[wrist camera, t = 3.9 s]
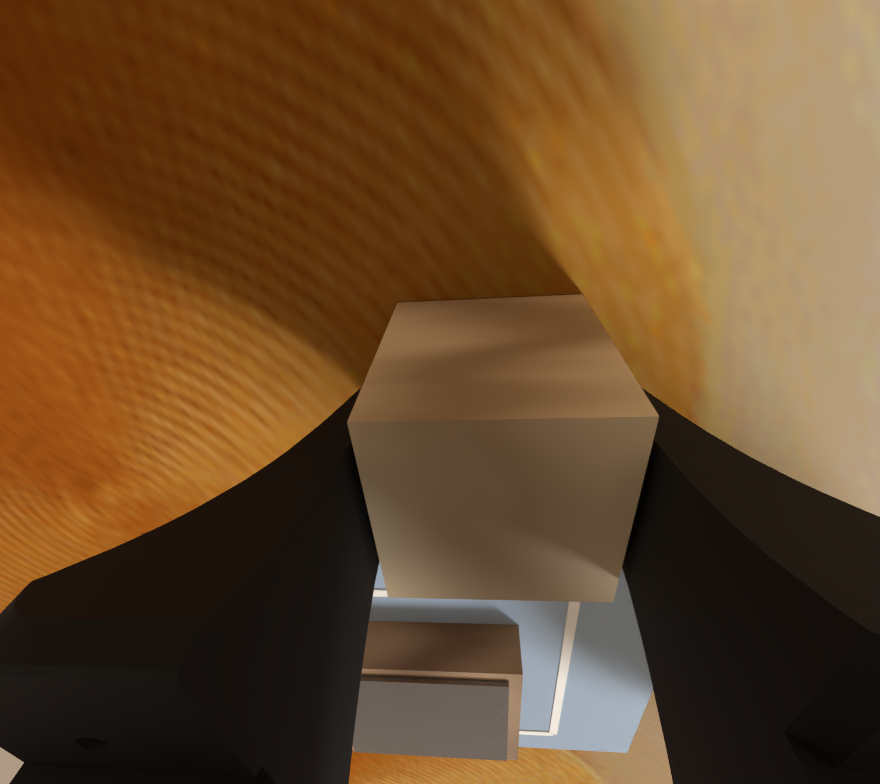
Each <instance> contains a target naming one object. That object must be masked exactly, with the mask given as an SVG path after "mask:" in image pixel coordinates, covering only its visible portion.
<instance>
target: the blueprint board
mask: <svg viewBox="0 0 880 784" xmlns="http://www.w3.org/2000/svg"><path fill="white" fill-rule="evenodd" d="M652 691H653V685H652V681H651V677H650V672H649V668H648V664H647V660H646V656H645V651H644V647H643V643H642V639H641V635H640V631H639V627H638V623H637V619H636V615H635V611H634V607H633V604H632V600H631V596H630V592H629V588H628V585H627V582H626V579H625V576H624V573H623V569H621V573H620V577H619V581H618V585H617V589H616V593H615V597H614V601H613V602H567V601H520V600H474V599H427V598H388V595H387V591H386V587H385V582H384V578H383V574H382V569H381V565H380V562H379V566H378V571H377V576H376V580H375V585H374V592H373V598H372V605H371V611H370V617H369V624H368V630H367V638H366V645H365V652H364V659H363V666H362V673H361V681H360V688H359V696H358V704H357V712H356V720H355V728H354V737H353V746H352V751H355V752H364V753H381V754H399V755H416V756H433V757H451V758H468V759H486V760H503V761H507V759H509V760H518V747H532V748H550V749H569V750H587V751H606V752H624V753H627V752H628V749H629V747H630V744H631V742H632V739H633V737H634V734H635V732H636V730H637V727H638V725H639V722H640V720H641V717H642V715H643V712H644V710H645V708H646V705H647V703H648V700H649V698H650V695H651V693H652Z"/></svg>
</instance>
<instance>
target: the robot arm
mask: <svg viewBox="0 0 880 784" xmlns="http://www.w3.org/2000/svg"><path fill="white" fill-rule="evenodd" d="M361 388H362V387H361ZM361 388H360V389H359V390H358V391H357V392H356V393H355V394H354V395H353V396H351V397H350V398H349V399H348V400H347V401H346V402H345V403H344V404H343V405H342V406H341V407H339V408H338V409H337V410H336V411H335V412H334V413H333V414H332V415H331V416H329V417H328V418H327V419H326V420H325V421H324V422H323V423H322V424H320V425H319V426H318V427H317V428H315V429H314V430H313V431H312V432H310V433H309V434H308V435H307V436H306V437H304V438H303V439H302V440H301V441H299V442H298V443H297V444H296V445H294V446H293V447H292V448H291V449H289V450H288V451H287V452H285V453H284V454H283V455H281V456H280V457H278V458H277V459H276V460H274V461H273V462H271V463H270V464H269V465H267V466H266V467H264V468H263V469H261V470H260V471H258V472H256V473H255V474H253V475H252V476H250V477H249V478H247V479H246V480H244V481H243V482H241V483H239V484H238V485H236V486H234V487H232V488H231V489H229V490H227V491H225V492H224V493H222V494H220V495H218V496H217V497H215V498H213V499H211V500H210V501H208V502H206V503H204V504H203V505H201V506H199V507H197V508H196V509H194V510H192V511H190V512H188V513H186V514H184V515H182V516H180V517H178V518H176V519H174V520H172V521H170V522H168V523H166V524H164V525H162V526H160V527H158V528H156V529H154V530H152V531H150V532H148V533H145V534H143V535H141V536H139V537H137V538H135V539H133V540H130V541H128V542H126V543H124V544H121V545H119V546H117V547H115V548H112V549H110V550H108V551H105V552H103V553H100V554H98V555H95V556H93V557H91V558H88V559H86V560H83V561H81V562H79V563H76V564H74V565H71V566H69V567H66V568H64V569H62V570H59V571H57V572H54V573H52V574H49V575H47V576H44V577H42V578H39V579H36V580H34V581H32V582H30V583H29V584H28V585H27V586H26V587H25V588H24V589H23V590H22V591H21V592H20V594H19V595H18V596H17V597H16V598H15V599H14V600H13V601H12V602H11V603H10V604H9V605H8V606H7V607H6V608H5V609H4V610H3V611H2V613H1V614H0V747H1V748H3V749H4V750H6V751H8V752H9V753H11V754H12V755H14V756H15V757H17V758H18V759H20V760H21V761H23V762H24V764H23V765H22V767H21V768H20V770H19V771H18V772H17V774H16V775H15V777H14V778H13V780H12V781H11V782H10V784H348V783H349V773H350V764H351V755H352V746H353V737H354V728H355V720H356V712H357V704H358V696H359V688H360V681H361V673H362V666H363V659H364V652H365V645H366V638H367V630H368V624H369V617H370V611H371V605H372V598H373V592H374V585H375V580H376V576H377V571H378V566H379V562H380V561H379V557H378V552H377V548H376V544H375V540H374V535H373V531H372V527H371V523H370V518H369V514H368V510H367V505H366V501H365V497H364V493H363V488H362V484H361V480H360V476H359V471H358V467H357V463H356V458H355V454H354V450H353V446H352V441H351V437H350V433H349V429H348V424H347V421H348V419H349V416H350V414H351V412H352V409H353V407H354V404H355V402H356V400H357V397H358V395H359V393H360V390H361ZM642 390H643V391H644V393H645V394H646V396H647V398H648V399H649V401H650V402H651V404H652V405H653V407H654V409H655V410H656V412H657V413H658V415H659V420H658V424H657V428H656V432H655V436H654V440H653V444H652V448H651V452H650V456H649V460H648V464H647V468H646V472H645V476H644V480H643V484H642V488H641V492H640V496H639V500H638V504H637V508H636V513H635V517H634V521H633V525H632V529H631V533H630V537H629V541H628V545H627V549H626V553H625V557H624V561H623V565H622V569H623V573H624V576H625V579H626V582H627V585H628V588H629V592H630V596H631V600H632V604H633V607H634V611H635V615H636V619H637V623H638V627H639V631H640V635H641V639H642V643H643V647H644V651H645V656H646V660H647V664H648V668H649V672H650V677H651V681H652V685H653V690H654V694H655V699H656V703H657V708H658V712H659V717H660V722H661V726H662V731H663V735H664V740H665V745H666V749H667V754H668V759H669V764H670V769H671V774H672V779H673V784H880V517H879V516H876V515H874V514H871V513H869V512H866V511H864V510H862V509H859V508H857V507H855V506H852V505H850V504H848V503H845V502H843V501H841V500H839V499H836V498H834V497H832V496H829V495H827V494H825V493H822V492H820V491H818V490H816V489H814V488H811V487H809V486H807V485H805V484H803V483H801V482H799V481H796V480H794V479H792V478H790V477H788V476H786V475H784V474H782V473H780V472H778V471H777V470H775V469H773V468H771V467H769V466H767V465H765V464H763V463H761V462H759V461H757V460H755V459H753V458H751V457H749V456H748V455H746V454H744V453H742V452H740V451H739V450H737V449H735V448H733V447H732V446H730V445H728V444H727V443H725V442H723V441H722V440H720V439H718V438H717V437H715V436H713V435H712V434H710V433H708V432H707V431H705V430H703V429H702V428H700V427H699V426H697V425H696V424H694V423H692V422H691V421H689V420H688V419H686V418H685V417H683V416H682V415H680V414H679V413H677V412H676V411H674V410H673V409H671V408H670V407H668V406H667V405H666V404H664V403H663V402H661V401H660V400H658V399H657V398H656V397H654V396H653V395H651V394H650V393H648V392H647V391H646V390H644V389H643V388H642Z"/></svg>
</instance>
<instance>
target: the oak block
mask: <svg viewBox="0 0 880 784" xmlns="http://www.w3.org/2000/svg"><path fill="white" fill-rule="evenodd" d="M658 420H659V415H658V413H657V412H656V410H655V409H654V407H653V405H652V404H651V402H650V401H649V399H648V398H647V396H646V394H645V393H644V391H643V390H642V388H641V386H640V385H639V383H638V382H637V380H636V378H635V377H634V375H633V374H632V372H631V370H630V369H629V367H628V366H627V364H626V362H625V361H624V359H623V358H622V356H621V354H620V353H619V351H618V350H617V348H616V346H615V345H614V343H613V342H612V340H611V338H610V337H609V335H608V334H607V332H606V330H605V329H604V327H603V326H602V324H601V322H600V321H599V319H598V318H597V316H596V314H595V313H594V311H593V310H592V308H591V306H590V305H589V303H588V302H587V300H586V298H585V297H584V295H583V294H576V295H554V296H532V297H510V298H489V299H467V300H445V301H423V302H402V303H397V305H396V307H395V310H394V312H393V314H392V317H391V319H390V321H389V324H388V326H387V329H386V331H385V333H384V336H383V338H382V340H381V343H380V345H379V348H378V350H377V352H376V355H375V357H374V359H373V362H372V364H371V367H370V369H369V371H368V374H367V376H366V378H365V381H364V383H363V386H362V388H361V390H360V393H359V395H358V397H357V400H356V402H355V404H354V407H353V409H352V412H351V414H350V416H349V419H348V421H347V424H348V429H349V433H350V437H351V441H352V446H353V450H354V454H355V458H356V463H357V467H358V471H359V476H360V480H361V484H362V488H363V493H364V497H365V501H366V505H367V510H368V514H369V518H370V523H371V527H372V531H373V535H374V540H375V544H376V548H377V552H378V557H379V561H380V565H381V569H382V574H383V578H384V582H385V587H386V591H387V595H388V598H427V599H474V600H520V601H567V602H613V601H614V597H615V593H616V589H617V585H618V581H619V577H620V573H621V569H622V565H623V561H624V557H625V553H626V549H627V545H628V541H629V537H630V533H631V529H632V525H633V521H634V517H635V513H636V508H637V504H638V500H639V496H640V492H641V488H642V484H643V480H644V476H645V472H646V468H647V464H648V460H649V456H650V452H651V448H652V444H653V440H654V436H655V432H656V428H657V424H658Z"/></svg>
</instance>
